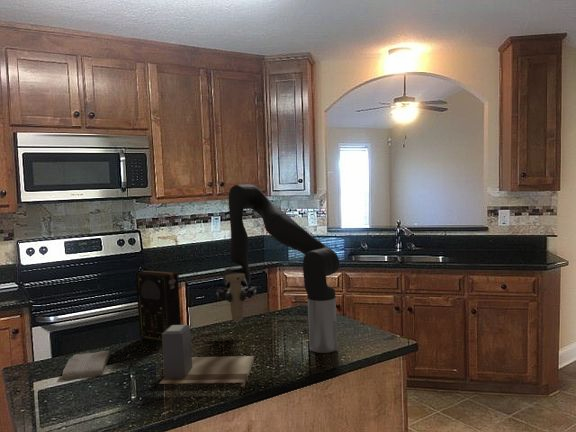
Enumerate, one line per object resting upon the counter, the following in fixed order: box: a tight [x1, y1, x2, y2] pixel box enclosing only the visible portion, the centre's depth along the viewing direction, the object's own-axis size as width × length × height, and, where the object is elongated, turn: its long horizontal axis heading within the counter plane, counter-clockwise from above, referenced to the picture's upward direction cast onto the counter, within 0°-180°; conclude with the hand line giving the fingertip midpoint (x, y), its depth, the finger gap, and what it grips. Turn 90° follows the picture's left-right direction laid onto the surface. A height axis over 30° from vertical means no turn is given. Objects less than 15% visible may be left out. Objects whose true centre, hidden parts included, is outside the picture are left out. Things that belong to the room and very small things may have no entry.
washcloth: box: [61, 350, 111, 381], centre depth 155 cm, size 12×18×3 cm, turn 14°
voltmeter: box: [135, 270, 182, 343], centre depth 180 cm, size 16×9×25 cm, turn 60°
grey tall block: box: [161, 324, 193, 378], centre depth 144 cm, size 6×8×14 cm
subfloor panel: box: [158, 355, 255, 387], centre depth 146 cm, size 24×20×1 cm
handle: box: [225, 273, 245, 323], centre depth 158 cm, size 5×6×15 cm
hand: (236, 298), depth 155 cm, fingers closed on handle, 3 cm apart
